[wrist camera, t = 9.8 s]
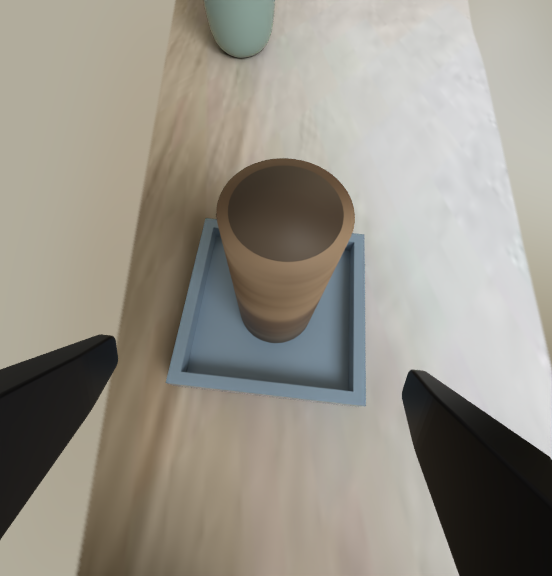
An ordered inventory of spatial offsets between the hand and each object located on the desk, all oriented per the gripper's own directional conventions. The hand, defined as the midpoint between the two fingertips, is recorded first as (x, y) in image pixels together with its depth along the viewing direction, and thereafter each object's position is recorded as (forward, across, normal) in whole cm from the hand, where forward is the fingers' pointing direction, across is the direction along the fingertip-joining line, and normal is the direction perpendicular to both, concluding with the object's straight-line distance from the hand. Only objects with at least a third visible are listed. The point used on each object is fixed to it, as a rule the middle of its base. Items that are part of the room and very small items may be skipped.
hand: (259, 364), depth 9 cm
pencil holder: (+13, 0, +4) cm, 14 cm away
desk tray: (+14, 0, +5) cm, 15 cm away
